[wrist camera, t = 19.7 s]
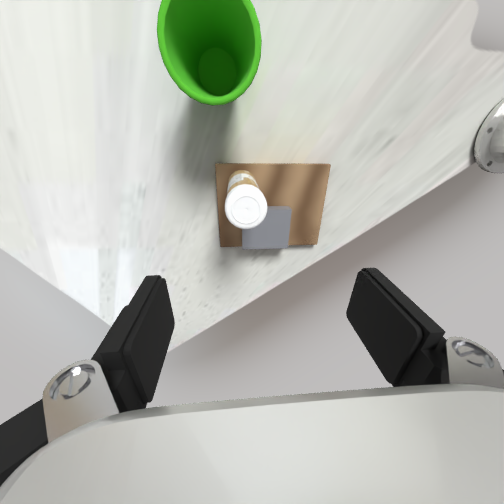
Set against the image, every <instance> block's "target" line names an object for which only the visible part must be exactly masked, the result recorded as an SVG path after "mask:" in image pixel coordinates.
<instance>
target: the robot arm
mask: <svg viewBox="0 0 504 504" xmlns="http://www.w3.org/2000/svg"><path fill="white" fill-rule="evenodd" d="M474 155H475V160H476V162H477V164H478V165H479V167H481V169H483V170H485V171H487V172H492V173H504V99H502V100H501V101H500V102H499V103H498V104H497V105H496V106H495V108H494V109H493V110H492V111H491V112H490V114H489V115H488V116H487V118H486V119H485V121H484V123H483V124H482V126H481V128H480V130H479V132H478V135H477V138H476V142H475V148H474ZM346 314H347V318H348V320H349V321H350V323H351V325H352V326H353V328H354V330H355V331H356V333H357V334H358V336H359V337H360V339H361V341H362V342H363V344H364V345H365V347H366V349H367V350H368V352H369V353H370V355H371V357H372V358H373V360H374V361H375V363H376V365H377V366H378V368H379V369H380V371H381V373H382V374H383V376H384V377H385V379H386V380H387V381H388V382H389V383H391V384H392V385H393V387H388V388H374V389H362V390H347V391H335V392H322V393H309V394H297V395H284V396H272V397H260V398H248V399H237V400H225V401H213V402H201V403H192V404H182V405H172V406H162V407H153V408H146V405H147V403H148V402H151V401H152V399H153V396H154V393H155V389H156V386H157V383H158V379H159V376H160V372H161V369H162V366H163V363H164V360H165V356H166V353H167V350H168V346H169V343H170V340H171V336H172V333H173V330H174V324H175V322H174V316H173V312H172V307H171V303H170V298H169V293H168V289H167V284H166V280H165V279H164V278H161V276H160V275H154V276H146V277H145V279H144V280H143V282H142V284H141V285H140V287H139V288H138V290H137V292H136V293H135V295H134V297H133V298H132V300H131V302H130V303H129V305H127V306H125V307H124V308H123V309H122V311H121V313H120V314H119V316H118V317H117V319H116V321H115V322H114V324H113V325H112V327H111V328H110V330H109V332H108V333H107V335H106V336H105V338H104V340H103V341H102V343H101V345H100V346H99V348H98V349H97V351H96V353H95V354H94V355H93V357H92V359H91V360H82V361H78V362H75V363H73V364H71V365H69V366H67V367H66V368H64V369H63V370H61V371H60V372H58V373H57V374H56V375H55V376H54V377H53V378H52V379H51V380H50V382H49V383H48V384H47V386H46V387H45V389H44V391H43V398H42V399H41V400H40V401H38V402H36V403H35V404H33V405H32V406H30V407H28V408H27V409H25V410H24V411H22V412H21V413H19V414H17V415H16V416H14V417H12V418H11V419H9V420H8V421H6V422H4V423H3V424H1V425H0V504H504V370H503V369H502V368H501V365H500V363H499V361H498V359H497V358H496V357H495V356H494V355H493V354H492V353H491V352H490V351H488V350H487V349H486V348H484V347H483V346H481V345H479V344H477V343H476V342H473V341H471V340H469V339H465V338H462V337H450V338H449V339H447V340H446V339H445V338H444V337H443V335H444V333H445V331H444V330H443V329H442V328H441V327H440V326H439V325H438V324H436V323H435V322H434V321H433V320H432V319H431V318H430V317H429V316H428V315H427V314H426V313H424V312H423V311H422V310H421V309H420V308H419V307H418V306H417V305H416V304H415V303H414V302H413V301H411V300H410V299H409V298H408V297H407V296H406V295H405V294H404V293H403V292H401V290H400V289H399V288H397V287H396V286H395V285H394V284H393V283H392V282H391V281H390V280H389V279H388V278H387V277H385V276H384V275H383V274H382V273H381V272H380V271H379V270H378V269H376V268H363V269H362V270H361V271H360V272H358V275H357V278H356V281H355V285H354V288H353V291H352V295H351V298H350V302H349V305H348V308H347V312H346ZM145 408H146V409H145Z"/></svg>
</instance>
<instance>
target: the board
mask: <svg viewBox="0 0 504 504" xmlns="http://www.w3.org/2000/svg"><path fill="white" fill-rule="evenodd" d="M330 166H331V165H330V164H233V163H216V164H215V168H216V184H217V199H218V215H219V230H220V246H221V247H238V246H242V229H241V228H238V227H236V226H234V225H233V224H232V223H231V222H230V221H229V220H228V218H227V216H226V213H225V200H226V197H227V189H228V180H229V178H230V176H231V175H232V174H233V173H234V172H235V171H238V170H245V171H248V172H250V173H251V174H252V175H253V176H254V178H255V180H256V183H257V185H258V187H259V190H260V191H261V192H262V193H263V195H264V197H265V199H266V202H267V206H289V207H290V208H291V209H292V212H291V222H290V231H289V241H288V245H315V244H317V241H318V236H319V230H320V224H321V218H322V212H323V207H324V201H325V195H326V189H327V183H328V178H329V172H330Z"/></svg>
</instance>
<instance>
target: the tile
mask: <svg viewBox="0 0 504 504" xmlns="http://www.w3.org/2000/svg"><path fill="white" fill-rule="evenodd" d="M291 212H292V209H291V208H290V207H289V206H267V214H266V217H265V218H264V220H263V221H262V222H261V223H260V224H259V225H258V226H256V227H254V228H251V229H242V249H277V248H288V241H289V231H290V222H291Z"/></svg>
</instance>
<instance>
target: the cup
mask: <svg viewBox="0 0 504 504" xmlns="http://www.w3.org/2000/svg"><path fill="white" fill-rule="evenodd" d="M157 35H158V44H159V49H160V52H161V56H162V59H163V63H164V65H165V67H166V69H167V71H168V73H169V74H170V76H171V78H172V79H173V80H174V82H175V83H176V84H177V86H178V87H179V88H180V89H181V90H182V91H183V92H184V93H186V94H187V95H188V96H189V97H190V98H192V99H194V100H196V101H198V102H200V103H204V104H208V105H224V104H226V103H229V102H232V101H234V100H235V99H237V98H238V97H239V96H241V95H242V94H243V93H244V92H245V91H246V90H247V88H248V87H249V86H250V85H251V83H252V81H253V79H254V77H255V75H256V73H257V70H258V66H259V62H260V58H261V42H262V41H261V32H260V24H259V21H258V18H257V15H256V12H255V8H254V6H253V4H252V3H251V1H250V0H162V2H161V5H160V9H159V12H158V23H157Z"/></svg>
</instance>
